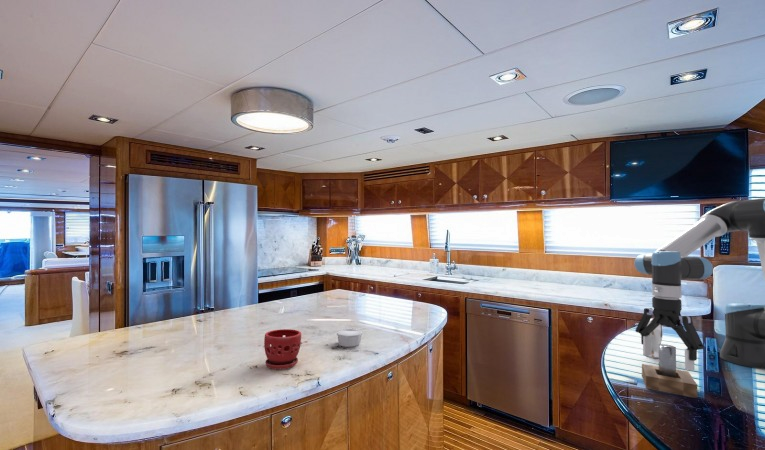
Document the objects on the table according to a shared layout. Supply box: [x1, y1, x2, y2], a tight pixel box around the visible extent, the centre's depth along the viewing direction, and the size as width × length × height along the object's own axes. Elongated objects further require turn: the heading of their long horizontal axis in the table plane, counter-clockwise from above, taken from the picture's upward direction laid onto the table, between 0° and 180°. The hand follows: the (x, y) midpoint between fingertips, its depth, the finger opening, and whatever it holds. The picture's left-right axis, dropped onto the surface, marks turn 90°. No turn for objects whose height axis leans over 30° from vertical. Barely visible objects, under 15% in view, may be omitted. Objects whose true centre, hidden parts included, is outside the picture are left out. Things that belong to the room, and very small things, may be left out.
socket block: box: [641, 363, 698, 399], centre depth 114 cm, size 12×12×4 cm
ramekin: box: [336, 328, 363, 348], centre depth 154 cm, size 11×11×5 cm
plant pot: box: [263, 328, 302, 371], centre depth 128 cm, size 13×13×12 cm
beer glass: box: [646, 317, 664, 359], centre depth 143 cm, size 7×7×15 cm
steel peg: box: [658, 343, 677, 378], centre depth 114 cm, size 4×4×13 cm
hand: (667, 362), depth 114 cm, fingers open, 13 cm apart
